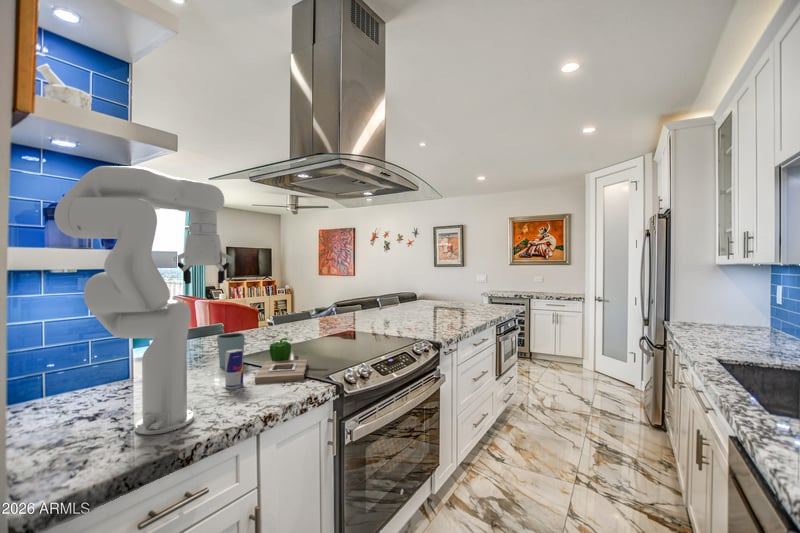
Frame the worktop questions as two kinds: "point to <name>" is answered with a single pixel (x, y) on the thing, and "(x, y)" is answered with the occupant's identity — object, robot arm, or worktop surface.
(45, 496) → the worktop surface
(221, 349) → the grey teal cup
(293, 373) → the slotted board
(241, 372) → the energy drink
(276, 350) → the bell pepper
